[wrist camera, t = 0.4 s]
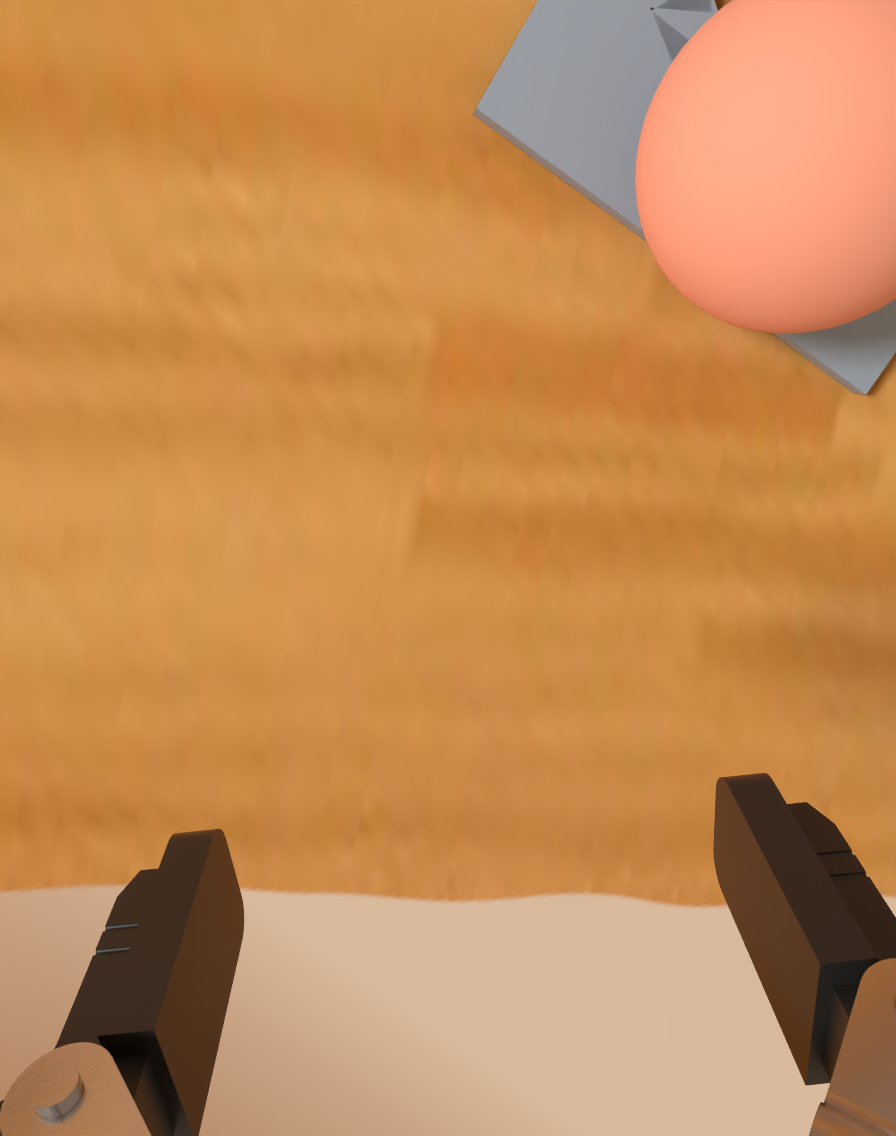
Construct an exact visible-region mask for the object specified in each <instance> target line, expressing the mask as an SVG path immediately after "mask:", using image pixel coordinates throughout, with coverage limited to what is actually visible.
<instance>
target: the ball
mask: <svg viewBox="0 0 896 1136" xmlns="http://www.w3.org/2000/svg"><path fill="white" fill-rule="evenodd" d="M635 188H636V199H637V208H638V213H639V217H640V222H641V226H642V229H643V232H644V235H645V238H646V241H647V244H648V246H649V248H650V250H651V252H652V254H653V256H654V258H655V260H656V262H657V263H658V265H659V266H660V268H661V269H662V271H663V272H664V274H665V275H666V277H667V278H668V279H669V281H670V282H671V283H672V284H673V285H674V286H675V287H676V288H677V289H678V291H679V292H680V293H681V294H682V295H684V296H685V297H686V298H687V299H688V300H690V301H691V302H692V303H693V304H694V305H696V306H697V307H699V308H701V309H702V310H704V311H705V312H707V313H709V314H710V315H712V316H714V317H716V318H718V319H720V320H723V321H725V322H727V323H730V324H732V325H735V326H738V327H742V328H746V329H750V330H755V331H761V332H770V333H779V334H784V333H804V332H811V331H817V330H823V329H828V328H832V327H835V326H839V325H842V324H845V323H848V322H851V321H853V320H856V319H859V318H861V317H863V316H865V315H868V314H870V313H872V312H874V311H876V310H878V309H880V308H882V307H883V306H885V305H886V304H888V303H890V302H891V301H893V300H894V299H896V0H733V1H731V2H730V3H728V4H726V5H725V6H724V7H722V8H721V9H720V10H719V11H718V12H717V13H715V14H714V15H713V16H712V17H711V18H710V19H708V20H707V21H706V22H705V23H704V24H703V25H702V27H701V28H700V29H699V30H698V31H697V32H696V33H695V34H694V35H693V36H692V38H691V39H690V40H689V41H688V42H687V43H686V44H685V45H684V46H683V48H682V49H681V50H680V52H679V53H678V55H677V56H676V57H675V59H674V60H673V62H672V63H671V65H670V66H669V68H668V69H667V71H666V73H665V75H664V77H663V79H662V81H661V82H660V84H659V86H658V88H657V90H656V92H655V94H654V96H653V98H652V101H651V104H650V106H649V109H648V111H647V114H646V116H645V119H644V123H643V127H642V131H641V135H640V138H639V144H638V151H637V158H636V179H635Z"/></svg>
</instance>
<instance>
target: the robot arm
mask: <svg viewBox="0 0 896 1136" xmlns="http://www.w3.org/2000/svg"><path fill="white" fill-rule="evenodd" d="M714 862H715V868H716V873H717V877H718V881H719V885H720V888H721V890H722V893H723V895H724V897H725V900H726V902H727V904H728V907H729V909H730V911H731V914H732V916H733V918H734V920H735V923H736V925H737V928H738V930H739V932H740V934H741V937H742V939H743V941H744V944H745V946H746V948H747V951H748V953H749V955H750V958H751V960H752V962H753V964H754V967H755V969H756V972H757V974H758V976H759V978H760V981H761V983H762V985H763V988H764V990H765V992H766V995H767V997H768V999H769V1002H770V1004H771V1006H772V1008H773V1011H774V1013H775V1016H776V1018H777V1020H778V1022H779V1025H780V1027H781V1029H782V1032H783V1034H784V1036H785V1039H786V1041H787V1043H788V1045H789V1048H790V1050H791V1053H792V1055H793V1057H794V1060H795V1062H796V1064H797V1066H798V1069H799V1071H800V1073H801V1076H802V1078H803V1080H804V1082H805V1085H815V1084H824V1083H830V1086H829V1089H828V1092H827V1096H826V1098H825V1101H824V1103H822V1102H821V1103H820V1105H819V1107H818V1110H817V1112H816V1115H815V1118H814V1121H813V1124H812V1127H811V1130H810V1134H809V1136H896V917H895V916H894V914H893V913H892V911H891V910H890V908H889V907H888V905H887V903H886V902H885V901H884V899H883V897H882V896H881V894H880V893H879V891H878V890H877V888H876V887H875V885H874V884H873V882H872V880H871V879H870V877H867V876H866V871H865V870H864V868H863V867H862V865H861V864H860V862H859V860H858V859H857V857H856V856H855V855H853V854H852V850H851V848H850V847H849V845H848V844H847V842H846V840H845V839H844V837H843V836H842V834H841V833H840V831H839V830H838V828H837V827H836V825H835V824H834V823H833V822H832V821H830V820H829V819H828V818H827V817H825V816H824V815H823V814H821V813H820V812H819V811H817V810H816V809H815V808H813V807H812V806H811V805H810V804H808V803H807V802H804V803H794V804H786V802H785V800H784V798H783V797H782V795H781V793H780V792H779V790H778V788H777V787H776V785H775V783H774V782H773V780H772V779H771V777H770V776H769V775H768V774H766V773H759V774H750V775H740V776H731V777H722V778H719V779H718V781H717V785H716V801H715V826H714ZM105 927H106V930H105V932H103V933H102V935H101V938H100V940H99V943H98V945H97V947H96V955H95V956H93V957H92V960H91V962H90V965H89V967H88V970H87V972H86V974H85V977H84V979H83V982H82V984H81V986H80V989H79V991H78V994H77V996H76V999H75V1001H74V1004H73V1006H72V1008H71V1011H70V1013H69V1016H68V1018H67V1021H66V1023H65V1026H64V1028H63V1030H62V1033H61V1036H60V1038H59V1040H58V1043H57V1045H56V1047H55V1049H54V1050H52V1051H50V1052H48V1053H47V1054H45V1055H43V1056H42V1057H40V1058H39V1059H38V1060H36V1061H35V1062H34V1063H32V1064H31V1065H30V1066H29V1067H28V1068H27V1069H25V1070H24V1072H23V1073H22V1074H21V1075H20V1076H19V1077H18V1078H17V1080H16V1081H15V1082H14V1083H13V1085H12V1086H11V1088H10V1090H9V1091H8V1093H7V1095H6V1096H5V1099H4V1100H3V1101H1V1102H0V1136H199V1131H200V1127H201V1122H202V1118H203V1113H204V1109H205V1104H206V1100H207V1095H208V1091H209V1087H210V1082H211V1077H212V1073H213V1068H214V1064H215V1060H216V1055H217V1051H218V1046H219V1042H220V1037H221V1033H222V1028H223V1024H224V1019H225V1015H226V1010H227V1006H228V1002H229V997H230V992H231V988H232V984H233V979H234V975H235V970H236V966H237V961H238V957H239V952H240V948H241V943H242V938H243V930H244V908H243V900H242V896H241V892H240V888H239V885H238V881H237V877H236V874H235V870H234V866H233V863H232V859H231V856H230V852H229V848H228V845H227V841H226V838H225V835H224V833H223V831H222V830H221V829H213V830H204V831H194V832H185V833H175V834H173V835H172V836H171V838H170V840H169V842H168V844H167V847H166V850H165V853H164V855H163V858H162V861H161V864H160V866H159V869H150V870H140V872H139V873H138V874H137V875H136V876H135V877H134V878H133V880H132V881H131V882H130V883H129V884H128V885H127V886H126V888H125V889H124V890H123V891H122V892H121V893H120V894H119V896H118V897H117V899H116V901H115V904H114V906H113V909H112V911H111V914H110V916H109V918H108V921H107V923H106V926H105Z"/></svg>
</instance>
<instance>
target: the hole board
mask: <svg viewBox="0 0 896 1136" xmlns="http://www.w3.org/2000/svg"><path fill="white" fill-rule="evenodd" d="M717 12H718V9H717V7H716V4H715V1H714V0H538V1H537V3H536V5H535V7H534V8H533V10H532V12H531V14H530V15H529V17H528V19H527V21H526V22H525V24H524V26H523V28H522V29H521V31H520V33H519V35H518V36H517V38H516V40H515V41H514V43H513V45H512V47H511V48H510V50H509V52H508V54H507V55H506V57H505V59H504V61H503V62H502V64H501V66H500V68H499V69H498V71H497V73H496V75H495V76H494V78H493V80H492V81H491V83H490V85H489V87H488V88H487V90H486V92H485V94H484V95H483V97H482V99H481V101H480V102H479V104H478V106H477V108H476V109H475V111H474V113H473V115H474V116H476V117H477V118H479V119H480V120H481V121H483V122H484V123H485V124H487V125H488V126H490V127H491V128H492V129H494V130H495V131H496V132H498V133H499V134H500V135H502V136H503V137H505V138H506V139H507V140H509V141H510V142H511V143H513V144H514V145H515V146H517V147H518V148H520V149H521V150H522V151H524V152H525V153H526V154H528V155H529V156H530V157H532V158H533V159H535V160H536V161H537V162H539V163H540V164H541V165H543V166H544V167H546V168H547V169H548V170H550V171H551V172H552V173H554V174H555V175H556V176H558V177H559V178H561V179H562V180H563V181H565V182H566V183H567V184H569V185H570V186H571V187H573V188H574V189H576V190H577V191H578V192H580V193H581V194H582V195H584V196H585V197H586V198H588V199H589V200H591V201H592V202H593V203H595V204H596V205H597V206H599V207H600V208H601V209H603V210H604V211H606V212H607V213H608V214H610V215H611V216H612V217H614V218H615V219H617V220H618V221H619V222H621V223H622V224H623V225H625V226H626V227H627V228H629V229H630V230H632V231H633V232H634V233H636V234H637V235H638V236H640V237H641V238H642V239H644V240H645V241H646V238H645V235H644V232H643V229H642V226H641V222H640V217H639V213H638V208H637V199H636V188H635V179H636V158H637V151H638V144H639V138H640V135H641V131H642V127H643V123H644V119H645V116H646V114H647V111H648V109H649V106H650V104H651V101H652V98H653V96H654V94H655V92H656V90H657V88H658V86H659V84H660V82H661V81H662V79H663V77H664V75H665V73H666V71H667V69H668V68H669V66H670V65H671V63H672V62H673V60H674V59H675V57H676V56H677V55H678V53H679V52H680V50H681V49H682V48H683V46H684V45H685V44H686V43H687V42H688V41H689V40H690V39H691V38H692V36H693V35H694V34H695V33H696V32H697V31H698V30H699V29H700V28H701V27H702V25H703V24H704V23H705V22H706V21H707V20H708V19H710V18H711V17H712V16H713V15H714V14H715V13H717ZM772 334H774V335H775V336H776V337H778V338H779V339H780V340H782V341H783V342H784V343H786V344H787V345H789V346H790V347H791V348H793V349H794V350H795V351H797V352H798V353H800V354H801V355H802V356H804V357H805V358H806V359H808V360H809V361H810V362H812V363H813V364H815V365H816V366H817V367H819V368H820V369H821V370H823V371H824V372H825V373H827V374H828V375H830V376H831V377H832V378H834V379H835V380H836V381H838V382H839V383H840V384H842V385H843V386H845V387H846V388H847V389H849V390H850V391H851V392H853V393H856V394H864V395H866V394H867V392H868V391H869V390H870V388H871V387H872V385H873V384H874V383H875V381H876V380H877V378H878V377H879V375H880V374H881V373H882V371H883V370H884V368H885V367H886V365H887V364H888V363H889V361H890V360H891V358H892V357H893V355H894V354H895V353H896V299H894V300H893V301H891V302H890V303H888V304H886V305H885V306H883V307H882V308H880V309H878V310H876V311H874V312H872V313H870V314H868V315H865V316H863V317H861V318H859V319H856V320H853V321H851V322H848V323H845V324H842V325H839V326H835V327H832V328H828V329H823V330H817V331H811V332H804V333H784V334H779V333H772Z"/></svg>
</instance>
